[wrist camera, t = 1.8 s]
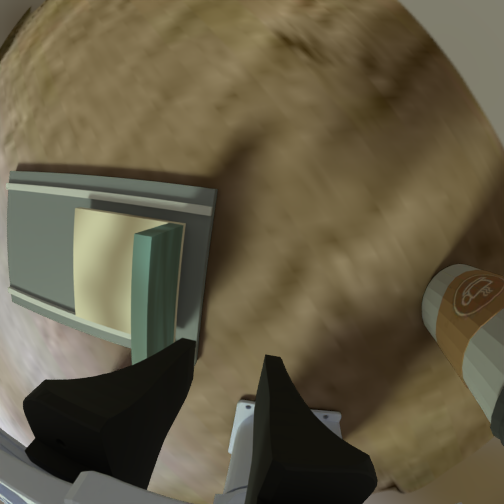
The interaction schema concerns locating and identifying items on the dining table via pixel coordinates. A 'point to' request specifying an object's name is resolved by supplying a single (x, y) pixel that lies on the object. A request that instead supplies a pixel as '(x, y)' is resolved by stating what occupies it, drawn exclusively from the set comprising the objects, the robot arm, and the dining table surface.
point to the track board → (62, 238)
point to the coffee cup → (471, 332)
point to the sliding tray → (128, 275)
